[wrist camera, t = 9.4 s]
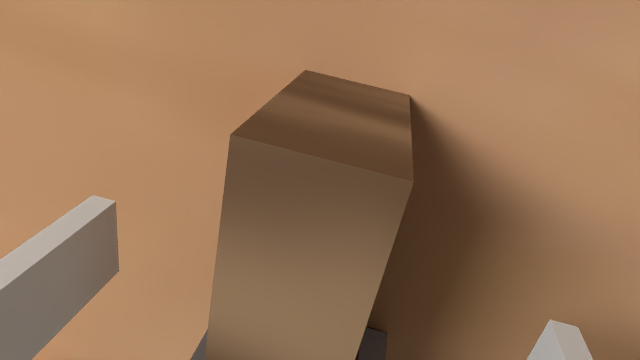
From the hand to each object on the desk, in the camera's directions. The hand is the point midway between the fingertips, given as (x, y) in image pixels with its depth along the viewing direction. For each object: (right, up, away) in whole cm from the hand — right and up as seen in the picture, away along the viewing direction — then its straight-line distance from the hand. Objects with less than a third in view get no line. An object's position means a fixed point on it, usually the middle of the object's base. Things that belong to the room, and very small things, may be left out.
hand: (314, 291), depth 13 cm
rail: (0, 0, +7) cm, 7 cm away
